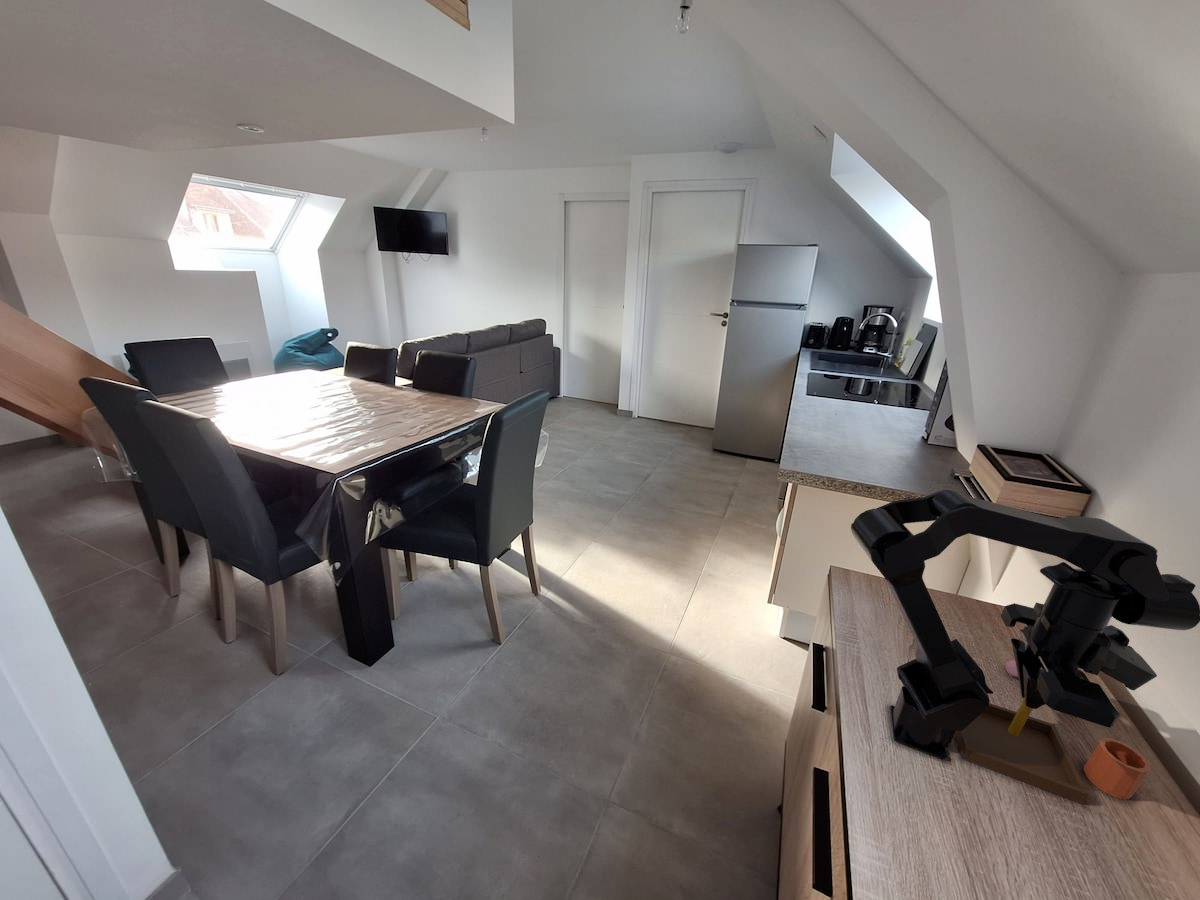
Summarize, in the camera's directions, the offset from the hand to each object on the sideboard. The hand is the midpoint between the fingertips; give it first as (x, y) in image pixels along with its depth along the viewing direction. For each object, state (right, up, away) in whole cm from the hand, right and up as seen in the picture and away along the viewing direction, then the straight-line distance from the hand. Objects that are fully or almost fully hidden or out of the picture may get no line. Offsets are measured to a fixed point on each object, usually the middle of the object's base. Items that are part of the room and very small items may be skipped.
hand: (1028, 702), depth 64 cm
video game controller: (+15, -5, +13) cm, 20 cm away
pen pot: (+10, -10, -1) cm, 14 cm away
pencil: (0, -6, +2) cm, 6 cm away
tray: (0, -8, +3) cm, 9 cm away
